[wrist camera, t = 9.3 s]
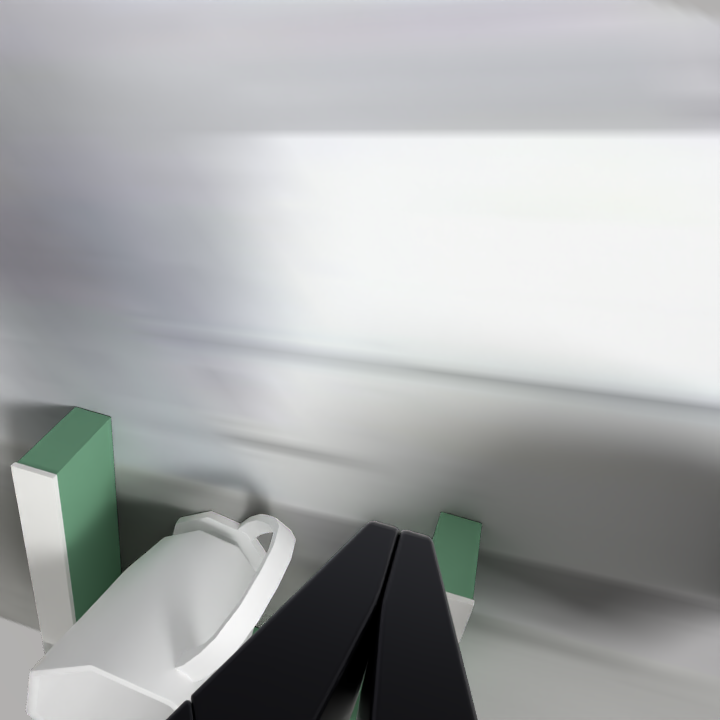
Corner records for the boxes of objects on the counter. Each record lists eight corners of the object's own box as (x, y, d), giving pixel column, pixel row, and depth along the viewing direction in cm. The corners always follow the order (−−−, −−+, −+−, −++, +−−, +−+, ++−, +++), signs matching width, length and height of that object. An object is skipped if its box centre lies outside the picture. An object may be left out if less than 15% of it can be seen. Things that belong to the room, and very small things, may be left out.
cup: (115, 533, 29) (-13, 705, 23) (243, 417, 24) (125, 596, 17) (237, 627, 31) (150, 815, 24) (383, 536, 26) (323, 744, 19)
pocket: (483, 523, 24) (474, 605, 21) (419, 701, 30) (404, 784, 27) (73, 405, 26) (10, 465, 23) (93, 596, 32) (46, 663, 29)
